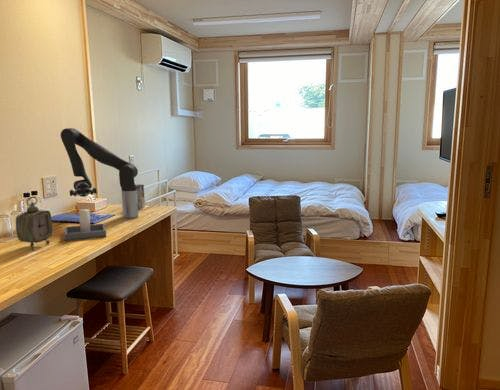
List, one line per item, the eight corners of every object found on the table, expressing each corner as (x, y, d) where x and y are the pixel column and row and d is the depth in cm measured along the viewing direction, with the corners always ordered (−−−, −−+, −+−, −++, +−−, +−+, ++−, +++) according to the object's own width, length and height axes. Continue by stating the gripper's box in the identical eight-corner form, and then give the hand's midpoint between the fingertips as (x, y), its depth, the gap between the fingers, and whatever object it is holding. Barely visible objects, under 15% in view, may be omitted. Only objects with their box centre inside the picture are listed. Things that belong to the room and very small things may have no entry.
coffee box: (136, 206, 287) (134, 184, 284) (145, 207, 287) (144, 184, 284) (132, 209, 278) (130, 186, 275) (141, 210, 278) (140, 186, 275)
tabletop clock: (33, 252, 192) (28, 200, 188) (16, 250, 194) (11, 199, 189) (53, 243, 206) (49, 194, 201) (37, 241, 208) (33, 193, 203)
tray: (104, 229, 231) (104, 223, 230) (106, 236, 217) (105, 230, 217) (65, 233, 223) (65, 226, 223) (65, 241, 210) (64, 234, 209)
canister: (90, 231, 223) (89, 208, 221) (90, 234, 219) (89, 210, 216) (80, 232, 221) (78, 209, 219) (80, 235, 217) (78, 211, 214)
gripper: (69, 184, 239) (68, 188, 225) (95, 182, 245) (96, 185, 230) (70, 196, 241) (70, 201, 226) (96, 194, 246) (97, 199, 232)
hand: (83, 193), depth 228 cm, fingers open, 8 cm apart
